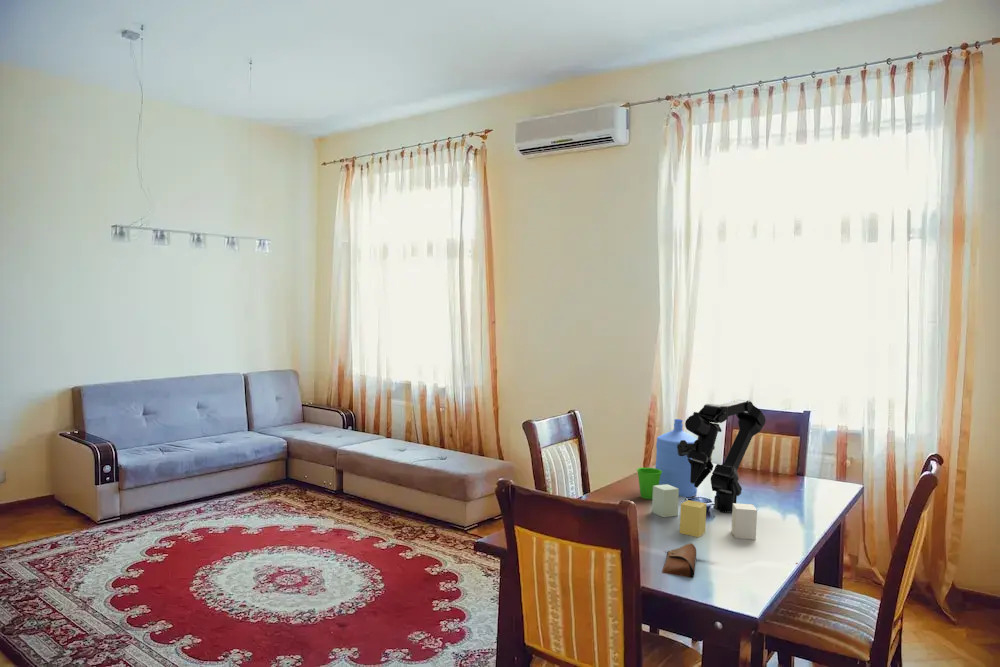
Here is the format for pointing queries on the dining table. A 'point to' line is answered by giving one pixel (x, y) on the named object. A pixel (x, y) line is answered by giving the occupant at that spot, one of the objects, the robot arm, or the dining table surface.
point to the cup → (648, 481)
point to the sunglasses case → (681, 561)
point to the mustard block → (693, 518)
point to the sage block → (665, 500)
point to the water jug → (675, 460)
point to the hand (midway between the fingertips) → (693, 485)
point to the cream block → (744, 521)
